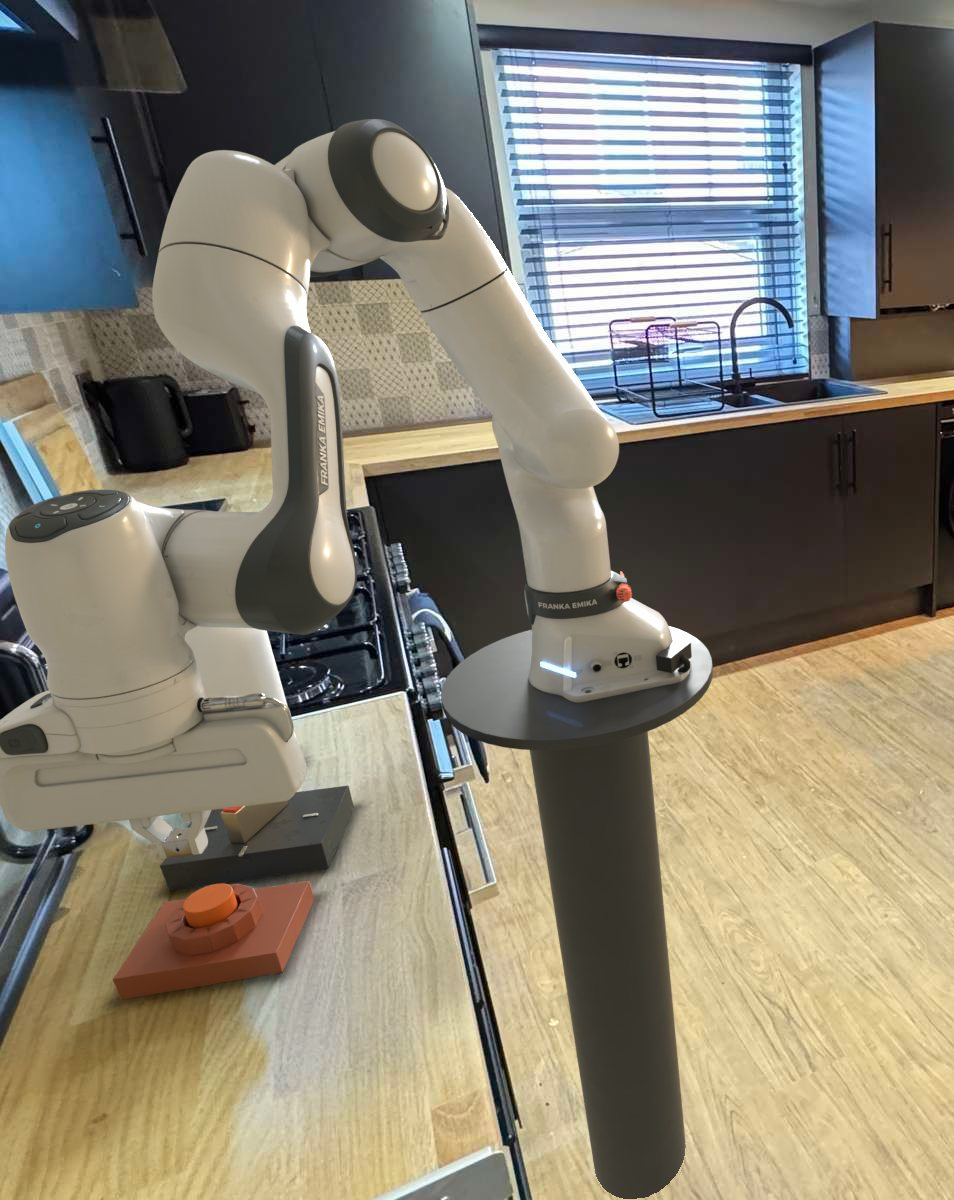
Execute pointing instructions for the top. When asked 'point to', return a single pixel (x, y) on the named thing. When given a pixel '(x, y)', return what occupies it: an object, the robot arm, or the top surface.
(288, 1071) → the top surface
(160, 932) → the button block
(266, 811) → the beige rectangular block
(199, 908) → the button
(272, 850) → the control panel
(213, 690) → the alcohol
